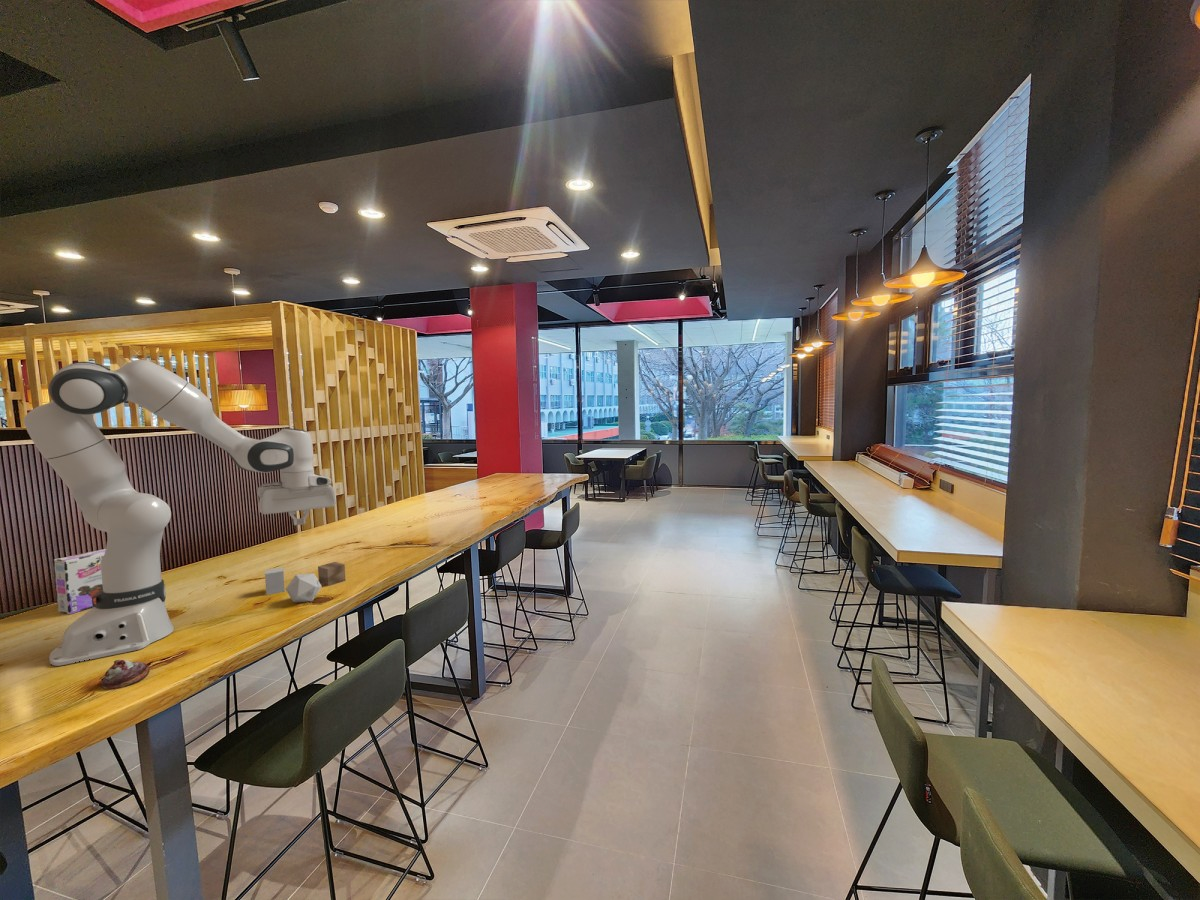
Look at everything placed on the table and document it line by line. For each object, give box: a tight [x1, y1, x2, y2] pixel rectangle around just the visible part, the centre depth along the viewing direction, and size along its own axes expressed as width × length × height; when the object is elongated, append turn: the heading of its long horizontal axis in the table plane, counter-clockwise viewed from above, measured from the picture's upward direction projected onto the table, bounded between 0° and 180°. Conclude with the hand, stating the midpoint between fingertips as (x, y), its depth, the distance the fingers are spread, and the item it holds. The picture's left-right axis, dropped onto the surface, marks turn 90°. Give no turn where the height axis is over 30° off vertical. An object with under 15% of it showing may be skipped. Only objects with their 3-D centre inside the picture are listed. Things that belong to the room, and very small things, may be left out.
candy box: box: [53, 548, 106, 615], centre depth 148 cm, size 14×6×16 cm, turn 161°
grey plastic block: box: [264, 566, 286, 596], centre depth 159 cm, size 5×5×7 cm
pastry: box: [100, 659, 150, 690], centre depth 106 cm, size 8×8×5 cm
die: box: [285, 572, 322, 604], centre depth 151 cm, size 8×9×10 cm
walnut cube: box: [317, 561, 347, 587], centre depth 167 cm, size 6×6×6 cm
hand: (299, 524), depth 149 cm, fingers closed
